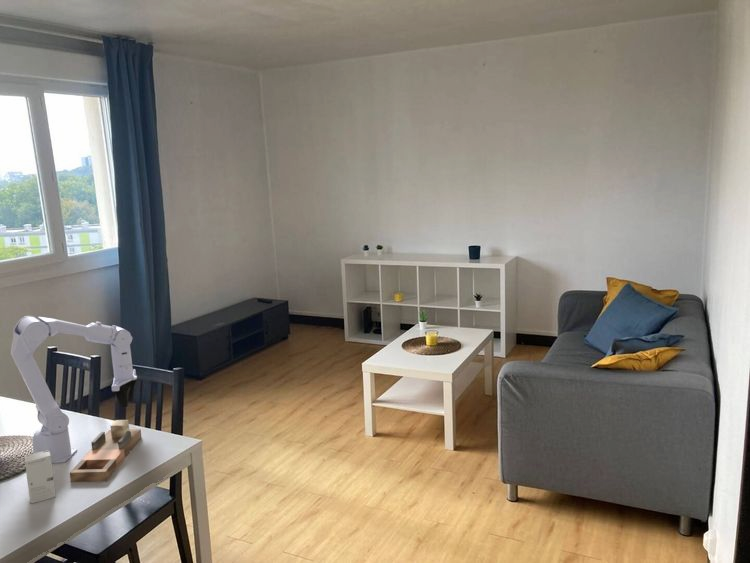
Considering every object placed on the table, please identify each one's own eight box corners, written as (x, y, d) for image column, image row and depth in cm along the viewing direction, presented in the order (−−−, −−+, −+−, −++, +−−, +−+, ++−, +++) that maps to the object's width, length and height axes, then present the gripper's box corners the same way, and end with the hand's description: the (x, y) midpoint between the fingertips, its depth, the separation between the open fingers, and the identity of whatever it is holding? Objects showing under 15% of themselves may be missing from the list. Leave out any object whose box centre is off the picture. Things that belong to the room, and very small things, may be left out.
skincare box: (30, 504, 156) (24, 462, 154) (29, 496, 160) (22, 455, 158) (56, 496, 160) (50, 455, 157) (55, 489, 163) (49, 448, 161)
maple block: (111, 437, 187) (110, 425, 186) (116, 431, 191) (115, 420, 190) (124, 437, 187) (123, 425, 186) (129, 431, 191) (128, 419, 190)
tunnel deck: (70, 482, 167) (68, 464, 166) (110, 438, 193) (108, 422, 192) (106, 481, 167) (104, 463, 166) (141, 437, 193) (139, 421, 192)
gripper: (125, 371, 184) (130, 412, 187) (143, 356, 198) (147, 394, 201) (103, 372, 184) (108, 413, 187) (122, 356, 198) (126, 395, 201)
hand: (126, 403), depth 194 cm, fingers open, 4 cm apart
